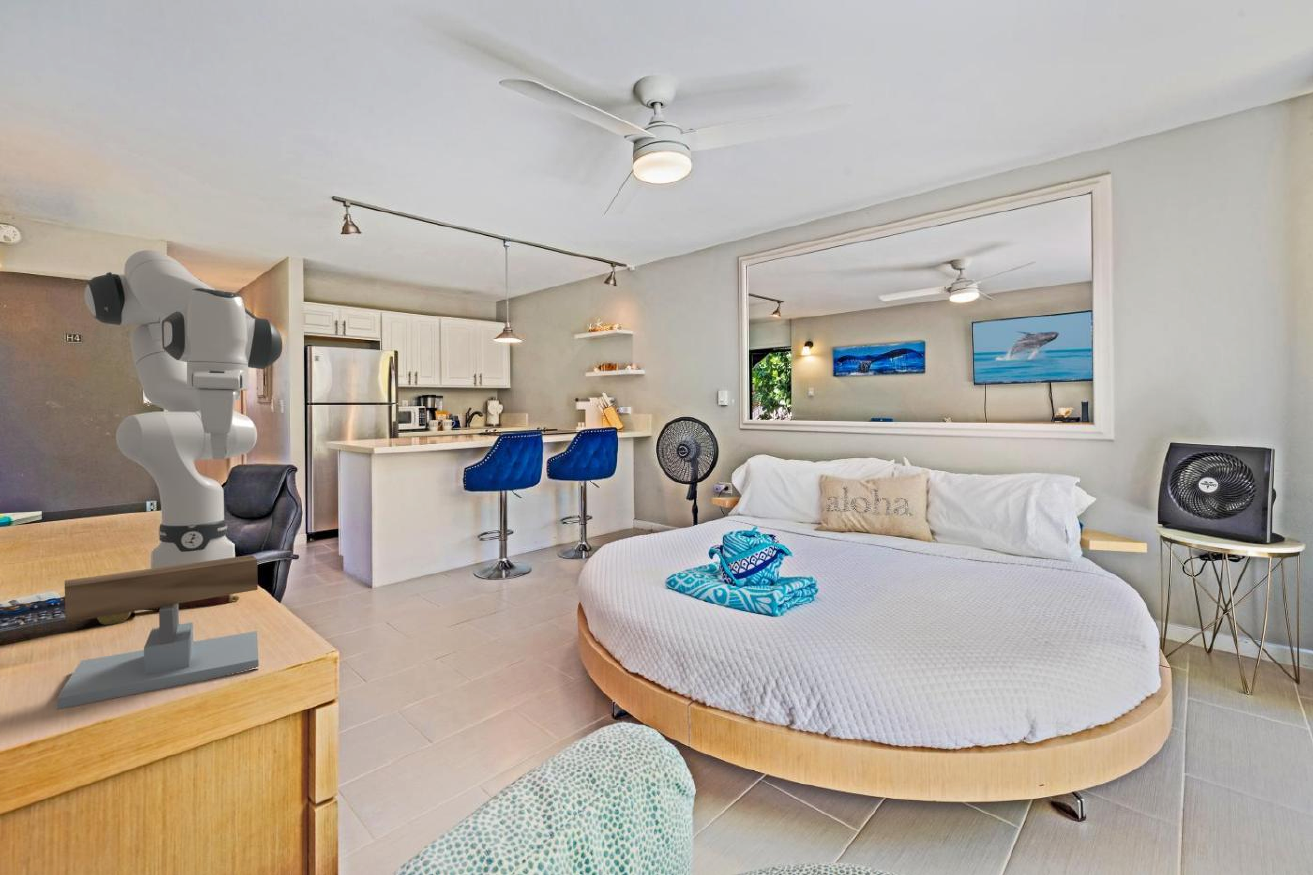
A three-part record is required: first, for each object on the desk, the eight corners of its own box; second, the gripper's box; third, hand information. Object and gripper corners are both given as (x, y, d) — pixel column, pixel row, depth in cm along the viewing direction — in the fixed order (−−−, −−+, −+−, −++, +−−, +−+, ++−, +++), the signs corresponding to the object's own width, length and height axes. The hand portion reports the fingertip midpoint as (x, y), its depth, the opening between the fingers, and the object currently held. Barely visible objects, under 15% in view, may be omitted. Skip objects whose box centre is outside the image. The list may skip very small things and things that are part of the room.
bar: (65, 615, 82) (64, 580, 82) (252, 584, 98) (251, 554, 98) (65, 623, 80) (64, 586, 79) (257, 589, 95) (257, 559, 95)
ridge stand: (81, 670, 89) (79, 601, 88) (257, 639, 101) (256, 579, 101) (57, 709, 77) (54, 631, 77) (258, 669, 90) (257, 601, 89)
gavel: (242, 580, 126) (237, 593, 117) (241, 601, 126) (236, 616, 117) (113, 588, 115) (97, 602, 107) (111, 611, 115) (95, 627, 107)
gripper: (199, 381, 111) (201, 454, 112) (191, 377, 95) (193, 462, 95) (240, 382, 115) (241, 453, 116) (239, 378, 98) (241, 460, 99)
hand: (219, 457), depth 105 cm, fingers open, 8 cm apart
